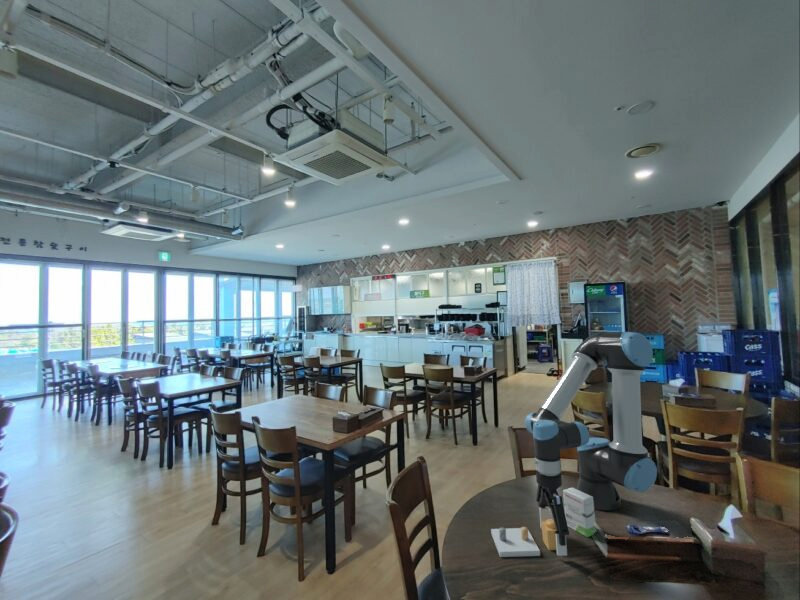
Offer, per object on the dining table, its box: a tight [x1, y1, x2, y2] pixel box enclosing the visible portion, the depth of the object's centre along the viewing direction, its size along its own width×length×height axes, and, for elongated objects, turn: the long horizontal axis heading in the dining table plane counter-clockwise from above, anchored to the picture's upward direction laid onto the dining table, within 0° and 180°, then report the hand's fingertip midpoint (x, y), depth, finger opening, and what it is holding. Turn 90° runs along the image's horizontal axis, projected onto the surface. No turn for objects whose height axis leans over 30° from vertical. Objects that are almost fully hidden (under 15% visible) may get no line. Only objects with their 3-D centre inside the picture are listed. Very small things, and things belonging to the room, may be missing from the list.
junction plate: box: [490, 526, 541, 558], centre depth 114 cm, size 12×12×5 cm
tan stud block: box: [541, 518, 557, 551], centre depth 113 cm, size 5×5×7 cm
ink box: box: [562, 487, 596, 538], centre depth 120 cm, size 9×5×12 cm, turn 26°
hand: (553, 541), depth 112 cm, fingers open, 13 cm apart
